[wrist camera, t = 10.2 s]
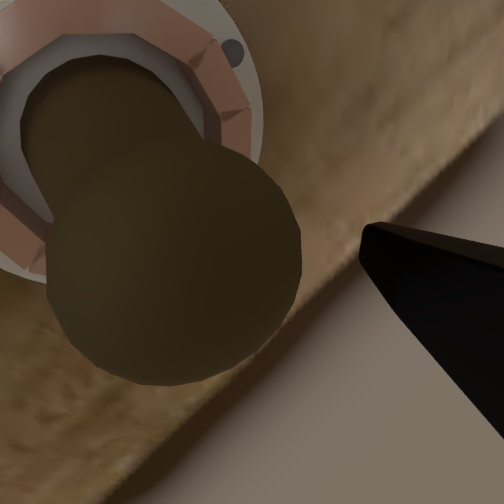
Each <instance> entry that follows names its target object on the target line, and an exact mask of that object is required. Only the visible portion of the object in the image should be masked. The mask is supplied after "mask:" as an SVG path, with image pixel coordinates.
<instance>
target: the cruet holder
mask: <svg viewBox="0 0 504 504" xmlns="http://www.w3.org/2000/svg"><path fill="white" fill-rule="evenodd" d="M98 54H100V55H107V56H113V57H119V58H126V59H129V60H131V61H133V62H135V63H137V64H139V65H141V66H143V67H145V68H147V69H148V70H150V71H152V72H153V73H154V74H155V75H156V76H157V77H158V78H159V79H160V80H161V81H163V82H164V83H165V84H166V85H167V86H168V87H169V88H170V89H171V90H172V92H173V94H174V95H175V97H176V98H177V100H178V101H179V103H180V104H181V106H182V108H183V109H184V111H185V112H186V114H187V115H188V117H189V118H190V120H191V121H192V123H193V125H194V126H195V128H196V129H197V131H198V132H199V134H200V135H201V137H202V138H203V140H212V141H214V142H216V143H218V144H220V145H223V146H225V147H227V148H229V149H232V150H234V151H236V152H238V153H240V154H243V155H245V156H246V157H247V158H249V159H250V160H252V161H253V162H255V163H256V164H257V165H258V161H259V157H260V152H261V147H262V138H263V127H264V124H263V102H262V96H261V89H260V83H259V80H258V76H257V72H256V69H255V65H254V62H253V60H252V57H251V55H250V52H249V50H248V47H247V45H246V42H245V41H244V39H243V37H242V35H241V33H240V32H239V30H238V28H237V26H236V24H235V23H234V21H233V20H232V18H231V17H230V16H229V14H228V13H227V11H226V10H225V9H224V7H223V6H222V5H221V3H220V2H219V1H218V0H0V268H1V269H3V270H5V271H8V272H10V273H13V274H15V275H18V276H21V277H23V278H26V279H29V280H33V281H37V282H41V283H45V284H46V253H45V242H46V240H47V237H48V234H49V232H50V229H51V226H52V224H53V221H54V217H53V215H52V213H51V211H50V209H49V207H48V205H47V203H46V201H45V199H44V197H43V195H42V193H41V191H40V190H39V188H38V186H37V184H36V182H35V180H34V178H33V176H32V174H31V172H30V169H29V167H28V165H27V162H26V160H25V157H24V155H23V152H22V150H21V138H20V119H21V116H22V113H23V110H24V107H25V103H26V100H27V97H28V95H29V94H30V92H31V91H32V90H33V89H34V88H35V86H36V85H37V84H38V83H39V81H40V80H41V79H42V78H43V76H44V75H45V74H46V73H48V72H49V71H51V70H53V69H55V68H56V67H58V66H60V65H62V64H63V63H65V62H67V61H69V60H70V59H75V58H81V57H87V56H92V55H98Z"/></svg>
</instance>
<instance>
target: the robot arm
mask: <svg viewBox="0 0 504 504" xmlns="http://www.w3.org/2000/svg"><path fill="white" fill-rule="evenodd" d="M359 261H360V263H361V266H362V267H363V268H364V270H365V271H366V273H367V274H368V276H369V277H370V278H371V280H372V281H373V283H374V284H375V286H376V287H377V288H378V290H379V291H380V293H381V294H382V296H383V297H384V298H385V300H386V301H387V303H388V304H389V305H390V307H391V308H392V309H393V311H394V312H395V313H396V314H397V316H398V317H399V318H400V319H401V321H402V322H403V323H404V324H405V325H406V326H407V328H408V329H409V330H410V331H411V332H412V333H413V334H414V336H415V337H416V338H417V339H418V340H419V342H420V343H421V344H422V345H423V346H424V347H425V349H426V350H427V351H428V352H429V353H430V354H431V355H432V357H433V358H434V359H435V360H436V361H437V362H438V364H439V365H440V366H441V367H442V368H443V369H444V371H445V372H446V373H447V374H448V375H449V376H450V378H451V379H452V380H453V381H454V382H455V383H456V384H457V386H458V387H459V388H460V389H461V390H462V391H463V392H464V394H465V395H466V396H467V397H468V398H469V400H470V401H471V402H472V403H473V404H474V405H475V406H476V408H477V409H478V410H479V411H480V412H481V414H483V416H484V417H485V418H486V419H487V420H488V422H489V423H490V424H491V425H492V426H493V427H494V429H495V430H496V431H497V432H498V433H499V434H500V436H501V437H502V438H503V439H504V248H503V247H498V246H494V245H489V244H484V243H480V242H475V241H470V240H466V239H461V238H456V237H452V236H447V235H442V234H438V233H433V232H428V231H423V230H419V229H414V228H410V227H405V226H400V225H396V224H391V223H387V222H375V223H371V224H367V225H366V226H365V227H364V229H363V232H362V238H361V244H360V250H359Z"/></svg>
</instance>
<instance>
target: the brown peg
mask: <svg viewBox="0 0 504 504" xmlns="http://www.w3.org/2000/svg"><path fill="white" fill-rule="evenodd" d="M20 138H21V150H22V152H23V155H24V157H25V160H26V162H27V165H28V167H29V169H30V172H31V174H32V176H33V178H34V180H35V182H36V184H37V186H38V188H39V190H40V191H41V193H42V195H43V197H44V199H45V201H46V203H47V205H48V207H49V209H50V211H51V213H52V215H53V217H54V221H53V224H52V226H51V229H50V232H49V234H48V237H47V240H46V242H45V253H46V284H47V298H48V300H49V302H50V304H51V306H52V308H53V310H54V313H55V315H56V317H57V319H58V321H59V323H60V325H61V327H62V329H63V331H64V333H65V334H66V336H67V338H68V339H69V341H70V342H71V344H72V345H73V346H74V347H75V348H76V349H78V350H79V351H80V352H81V353H82V354H83V355H84V356H86V357H87V358H88V359H89V360H90V361H91V362H92V363H94V364H95V365H96V366H97V367H99V368H101V369H103V370H105V371H107V372H109V373H111V374H114V375H117V376H119V377H122V378H124V379H127V380H130V381H132V382H135V383H138V384H142V385H157V386H176V385H181V384H187V383H192V382H198V381H203V380H205V379H207V378H210V377H212V376H214V375H217V374H219V373H222V372H224V371H226V370H229V369H231V368H233V367H234V366H236V365H237V364H239V363H240V362H241V361H243V360H244V359H246V358H247V357H249V356H250V355H252V354H253V353H254V352H256V351H257V350H258V349H259V348H260V347H261V346H262V345H263V344H264V343H265V342H266V341H267V340H268V339H269V338H270V337H271V336H272V335H273V334H274V333H275V331H276V330H277V329H278V328H279V327H280V325H281V324H282V322H283V320H284V318H285V317H286V315H287V313H288V312H289V310H290V308H291V306H292V305H293V303H294V301H295V297H296V293H297V290H298V286H299V282H300V279H301V275H302V254H301V232H300V228H299V226H298V224H297V221H296V219H295V217H294V214H293V212H292V210H291V207H290V205H289V202H288V201H287V199H286V197H285V195H284V193H283V192H282V190H281V188H280V187H279V186H278V185H277V184H276V183H275V182H274V181H273V180H272V179H271V178H270V177H269V176H268V175H267V174H266V173H265V172H264V171H263V170H262V169H261V168H260V167H259V166H258V165H257V164H256V163H255V162H253V161H252V160H250V159H249V158H247V157H246V156H245V155H243V154H240V153H238V152H236V151H234V150H232V149H229V148H227V147H225V146H223V145H220V144H218V143H216V142H214V141H212V140H203V138H202V137H201V135H200V134H199V132H198V131H197V129H196V128H195V126H194V125H193V123H192V121H191V120H190V118H189V117H188V115H187V114H186V112H185V111H184V109H183V108H182V106H181V104H180V103H179V101H178V100H177V98H176V97H175V95H174V94H173V92H172V90H171V89H170V88H169V87H168V86H167V85H166V84H165V83H164V82H163V81H161V80H160V79H159V78H158V77H157V76H156V75H155V74H154V73H153V72H152V71H150V70H148V69H147V68H145V67H143V66H141V65H139V64H137V63H135V62H133V61H131V60H129V59H126V58H119V57H113V56H107V55H100V54H98V55H92V56H87V57H81V58H75V59H70V60H69V61H67V62H65V63H63V64H62V65H60V66H58V67H56V68H55V69H53V70H51V71H49V72H48V73H46V74H45V75H44V76H43V78H42V79H41V80H40V81H39V83H38V84H37V85H36V86H35V88H34V89H33V90H32V91H31V92H30V94H29V95H28V97H27V100H26V103H25V107H24V110H23V113H22V116H21V119H20Z"/></svg>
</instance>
